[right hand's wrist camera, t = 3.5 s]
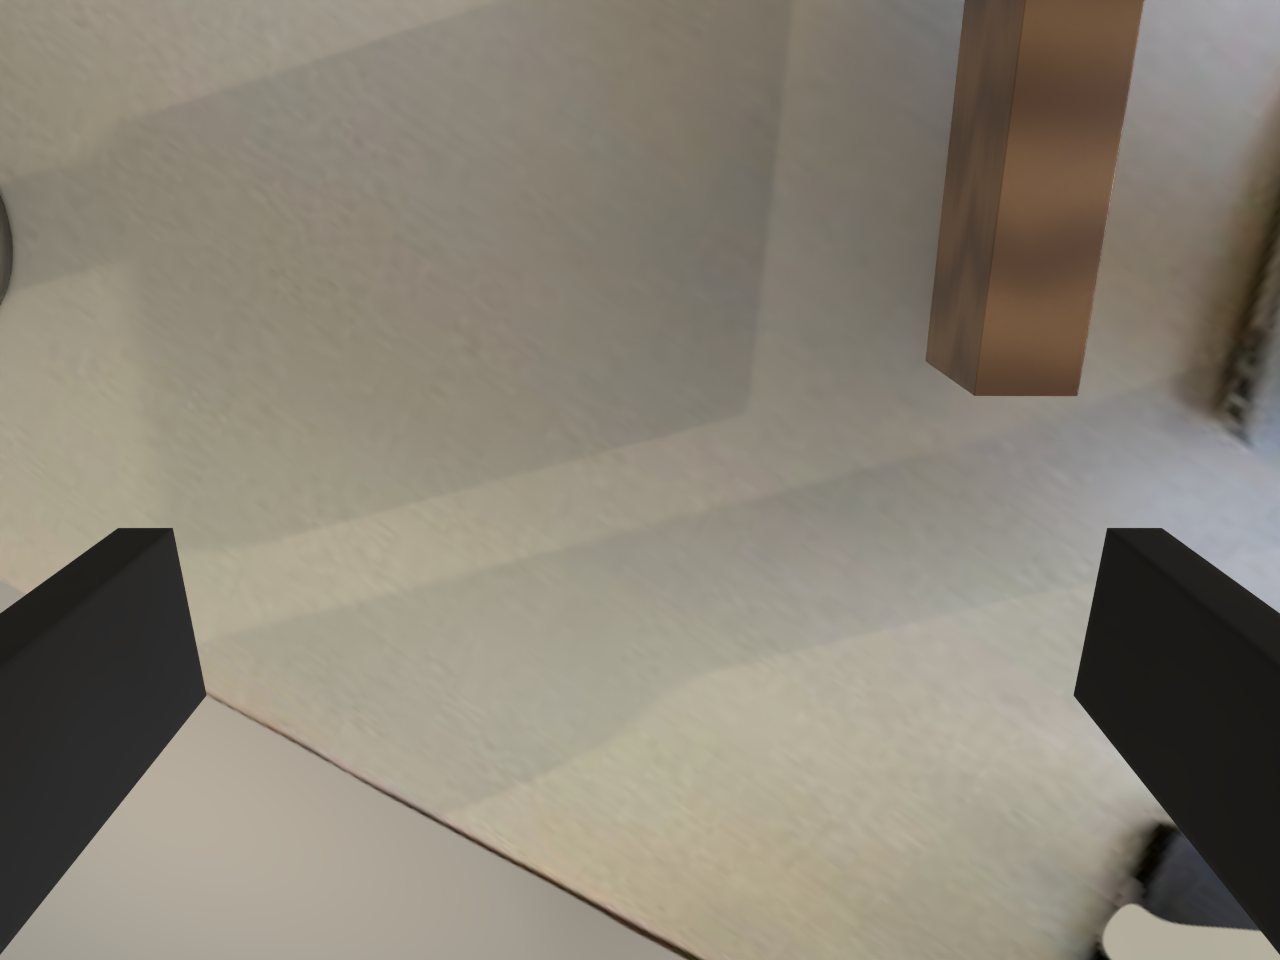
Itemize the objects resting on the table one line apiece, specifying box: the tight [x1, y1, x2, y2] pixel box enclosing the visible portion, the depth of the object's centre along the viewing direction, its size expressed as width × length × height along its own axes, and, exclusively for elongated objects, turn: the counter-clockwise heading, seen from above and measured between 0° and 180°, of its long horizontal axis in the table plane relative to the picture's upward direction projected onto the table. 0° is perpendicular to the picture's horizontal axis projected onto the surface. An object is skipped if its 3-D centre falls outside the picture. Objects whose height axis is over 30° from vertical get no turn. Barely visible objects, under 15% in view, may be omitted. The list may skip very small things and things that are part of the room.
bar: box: [926, 0, 1144, 396], centre depth 41 cm, size 25×5×8 cm, turn 0°
